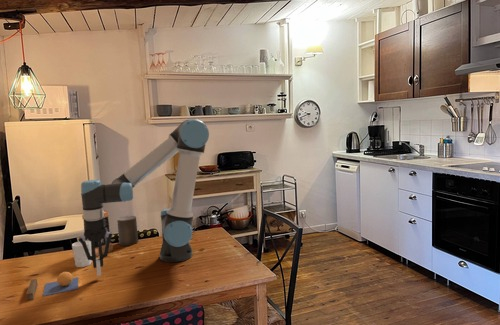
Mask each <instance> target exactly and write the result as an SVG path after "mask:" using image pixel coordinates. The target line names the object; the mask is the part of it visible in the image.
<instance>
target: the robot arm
mask: <svg viewBox="0 0 500 325" xmlns="http://www.w3.org/2000/svg"><path fill="white" fill-rule="evenodd" d="M209 136H210V132H209V128H208V125H206V124H205V122H204V121H202V120H200V119H197V118H190V119H186V120H183V121H182V122H181V123H180V124H179V125H178V126H177V127H176V128H175V129H174V130H173V131H171V133H169V134H168V137H167V139H165V140H164V141H163V142H162V143H160V144H159V145H158V146H157V147H155V148H154V149H153V150H151V151H150V152H149V153H148V154H146V155H145V156H144V157H142V158H141V159H140V160H138V161H137V162H136V163H135V164H133V165H132V166H131V167H130V168H128V169H127V170H126V171H125V172H124V173H122V174H121V175H120V176H119V177H117V178H115V179H113V180H112V181H111V183H108V184H107V183H106V184H102V182H101V180H99V179H90V180H85V181H82V182H81V184H80V192H81V193H80V195H81V204H82V215H83V216H84V219H85V221H84V219H83V227H84V226H85V232H83V235H80V236H79V237H78V242H79V241H80V243H81V244H82V246H83V248H84V251H85V253H86V256H87V259H88V260H92V267H93V269H96V276H97V277H100V276H102V269H101V267H102V268H103V267H104V259H105V258H107V257H108V253H109V252H108V249H109V243H110V239H111V240H112V237H113V232H111V231H110V232H107V231H106V229H105V223H104V218H103V217H104V211H103V210H104V204H107V203H108V204H109V203H110V204H111V203H120V202H121V203H122V202H125V203H126V202H128V201H133V200H134V191H133V190H134V189H133V188H135V187H136V186H137V185H138V184H139V183H141V182H142V181H144V180H145V179H146V178H147V177H148V176H150V175H151V174H152V173H154V172H155V171H156V170H157V169H159V168H160V167H161V166H162V165H164V164H165V163H166V162H167V161H168V160H171V158H173V156H175V155H176V154H178V153H179V155H178V161H177V168H176V174H175V180H174V186H173V192H172V198H171V205H170V207H169V208H165V209H162V210H161V211H160V219H161V220H160V222H161V235H162V242H161V243H162V244H161V247H160V251H159V260H161V261H162V262H165V263H178V262H183V261H186V260H189V259H190V258H192V257H193V255H194V254H193V248H192V245H191V243H190V241H191V239H192V237H193V221H194V214H193V212H192V206H193V205H192V204H193V200H194V193H195V187H196V182H197V181H196V180H197V175H198V170H199V164H200V158H201V156H202V155H203V154H204V153H205V149H206V144H207V142H208V141H209V138H210V137H209ZM105 234H106V237H107V239H106V245H105V250H104V254H102V244H101V240H102V239H103V237H104V236H105ZM85 237H86V238H87V239H88V240H89V241H91V246H92V256H91V255H90V253H89V250H88V248H87V245H86V242H85ZM95 241H98V247H99V256H98V258H97V256H96V254H95V243H94V242H95Z"/></svg>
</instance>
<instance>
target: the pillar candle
mask: <svg viewBox="0 0 500 325" xmlns="http://www.w3.org/2000/svg"><path fill="white" fill-rule="evenodd" d="M116 220H117V234H118V243H119V244H118V245H120V246H123V247H124V246H133V245H135V244H138V243H139V237H138V236H139V234H138V224H137V223H138V222H137V216H136V215H124V216H120V217H118V218H117V219H116Z"/></svg>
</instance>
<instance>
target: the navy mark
mask: <svg viewBox="0 0 500 325" xmlns="http://www.w3.org/2000/svg"><path fill="white" fill-rule="evenodd" d="M78 289H79V277H78V276H77V277H73V279H72V282H71V283H70V284H69V285H67V286H60V285H59V284H58V282H57V280H56V281H51V282H46V283H45V286H44V289H43V293H42V297H46V296H50V295H56V294H60V293H65V292H67V293H68V292H70V291H76V290H78Z"/></svg>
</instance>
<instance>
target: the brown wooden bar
mask: <svg viewBox="0 0 500 325" xmlns="http://www.w3.org/2000/svg"><path fill="white" fill-rule="evenodd" d="M38 286H39V285H38V278H34V279H32V278H31V279H30V281H29V285H28V289H27V291H26V295H25V296H26V301H31V300H32V301H33V300H34V298H35V295H36V292H37V287H38Z"/></svg>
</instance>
